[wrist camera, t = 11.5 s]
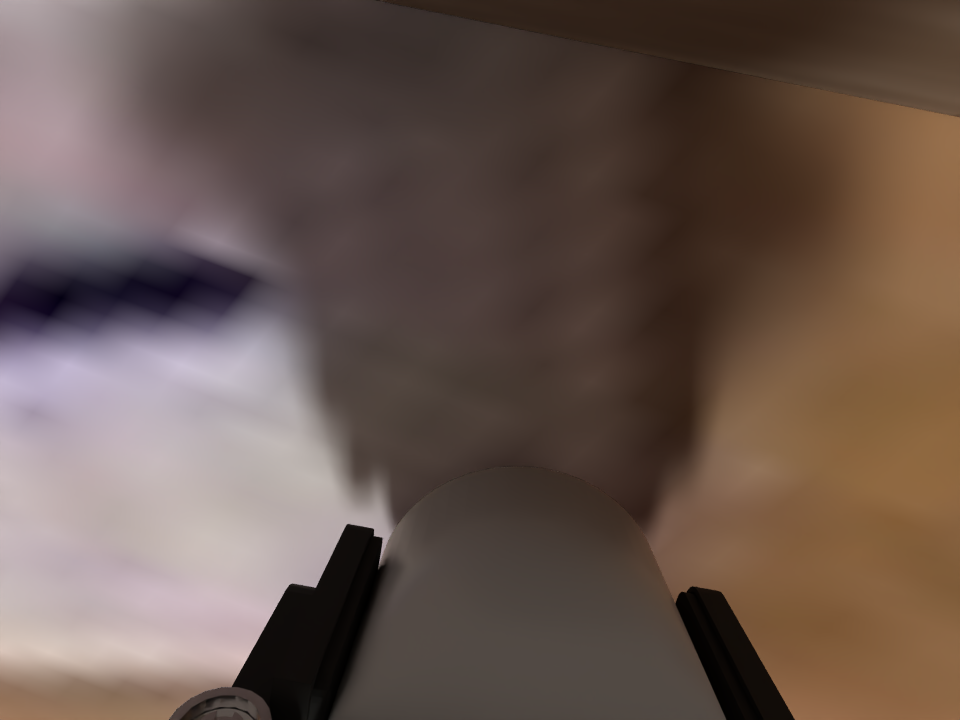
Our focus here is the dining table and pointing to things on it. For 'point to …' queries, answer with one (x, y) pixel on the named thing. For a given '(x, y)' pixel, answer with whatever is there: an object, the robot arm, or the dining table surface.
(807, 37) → the storage box
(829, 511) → the dining table surface
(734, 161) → the dining table surface
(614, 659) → the grey cylinder with dome
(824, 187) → the dining table surface
